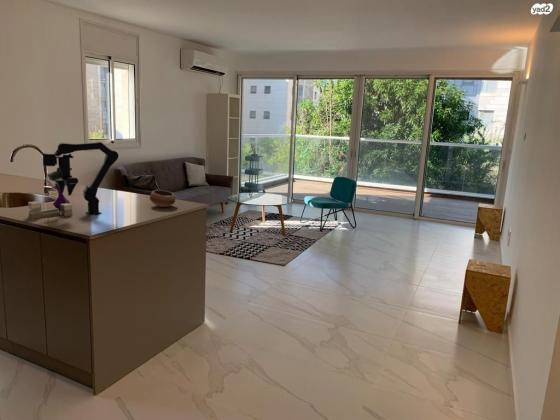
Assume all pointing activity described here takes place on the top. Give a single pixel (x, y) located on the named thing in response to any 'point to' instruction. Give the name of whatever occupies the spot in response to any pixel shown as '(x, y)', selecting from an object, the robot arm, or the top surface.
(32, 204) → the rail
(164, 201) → the bowl
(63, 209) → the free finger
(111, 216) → the top surface
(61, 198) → the perfume bottle
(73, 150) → the robot arm
